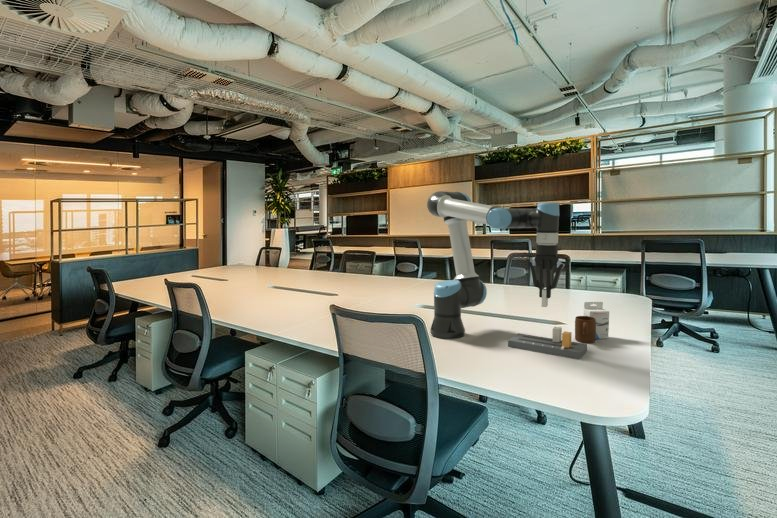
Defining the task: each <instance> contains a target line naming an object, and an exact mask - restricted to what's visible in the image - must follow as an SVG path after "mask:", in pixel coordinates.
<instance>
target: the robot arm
mask: <svg viewBox="0 0 777 518" xmlns="http://www.w3.org/2000/svg"><path fill="white" fill-rule="evenodd" d="M426 202H427V203H426V208H427V210H428V212H429V213H430V214H431V215H432V216H435V217H439V218H443V223H444V224H445V225H447V226H448V227H447V228H448V232H449V233H448V234H449V239H450V246H451V252H452V257H453V258H452V259H453V264H454V270H455V277H454V278H453V279H449V280H442V281H439V282H436V284H435V285H434V287H433V288H434V289H433V309H434V311H433V313H434V315H433V319H432V323H431V326H430V329H429V330H430V332H429V333H431V334H432V335H433V336H432V335H431V334H430V335H431V336H432V337H434V336H435V338H438V339H447V340H449V339H450V340H452V339H460V338H463V337H464V336H465V335H466V328H465V326H464V322H463V320H462V319H463V318H462V309H465V308H466V309H467V308H472V307H476V306H479V305H481V304H483V302H484V301H485V300H486V297H487V293H488V292H487V291H488V290H487V286H486V284H485V283H484V282H483V281H482V280H480V275H479V274H477V273H476V271H475V266H474V260H473V253H472V249H471V242H470V236H469V231H468V225H467V222H468V221H470V222H473V223H474V222H475V223H479V224H484V225H486V226H490V227H491V228H493V229H499V230H503V229H536V239H535V240H536V246H535V257H534V259H533V260H532V261H528V263H527V265H528V266H529V267H530V271H531V275H532V280H533V285H534V287H535V288H538V291H539V292H538V293H539V294H538V296H539V298H541V308H547V307H548V305H549V303H548V302H549V299H550V298H552V296H551V295H552V290H555V289H556V288H557V287H558V283H559V280H560V277H561V273H562V271H563V269H564V268H565V266H566V264H565V263H562V262H561V261H560V260H559V257H558V253H559V251H558V249H559V246H558V244H559V226H560V221H559V220H560V204H559V203H558V202H554V201H553V202H539V203H538V204H537V206H536V207H535V208H509V207H508V208H507V207H500V206H494V205H490V204H485V203H478V202H472V199H471V198H470V196H469V195H467V194H466V193H464V192H459V191H443V190H439V191H435V192H433V193H431V194H430V196H429V197H428V199H427V201H426ZM555 266H556V269H555V274H554V277H553V269H554V267H555ZM537 267H538V268H539V270H538V271H539V276H538V272H537ZM545 277H546V285H545ZM552 277H553V278H552ZM545 287H546V288H545Z"/></svg>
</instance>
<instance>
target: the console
mask: <svg viewBox="0 0 777 518" xmlns="http://www.w3.org/2000/svg"><path fill="white" fill-rule="evenodd" d="M507 347H509V348H514V349H519V350H526V351H531V352H536V353H541V354H548V355H553V356H559V357H563V358H569V359H575V360H581V358H583V356H584V355H585V354H586V353H587V351H588V343H583V342H578V341H577V342H576V341H571V346H570V347H569V348H566V347H564V346H562V339H561V341H560V342H553V341H552V337H551V338H550V337H546V336H545V337H543V336H538V335H532V334H527V333H526V334H525V333H520V332H519V333H516V334H515V335H514V336H512V337H511V338H509V339H507Z"/></svg>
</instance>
